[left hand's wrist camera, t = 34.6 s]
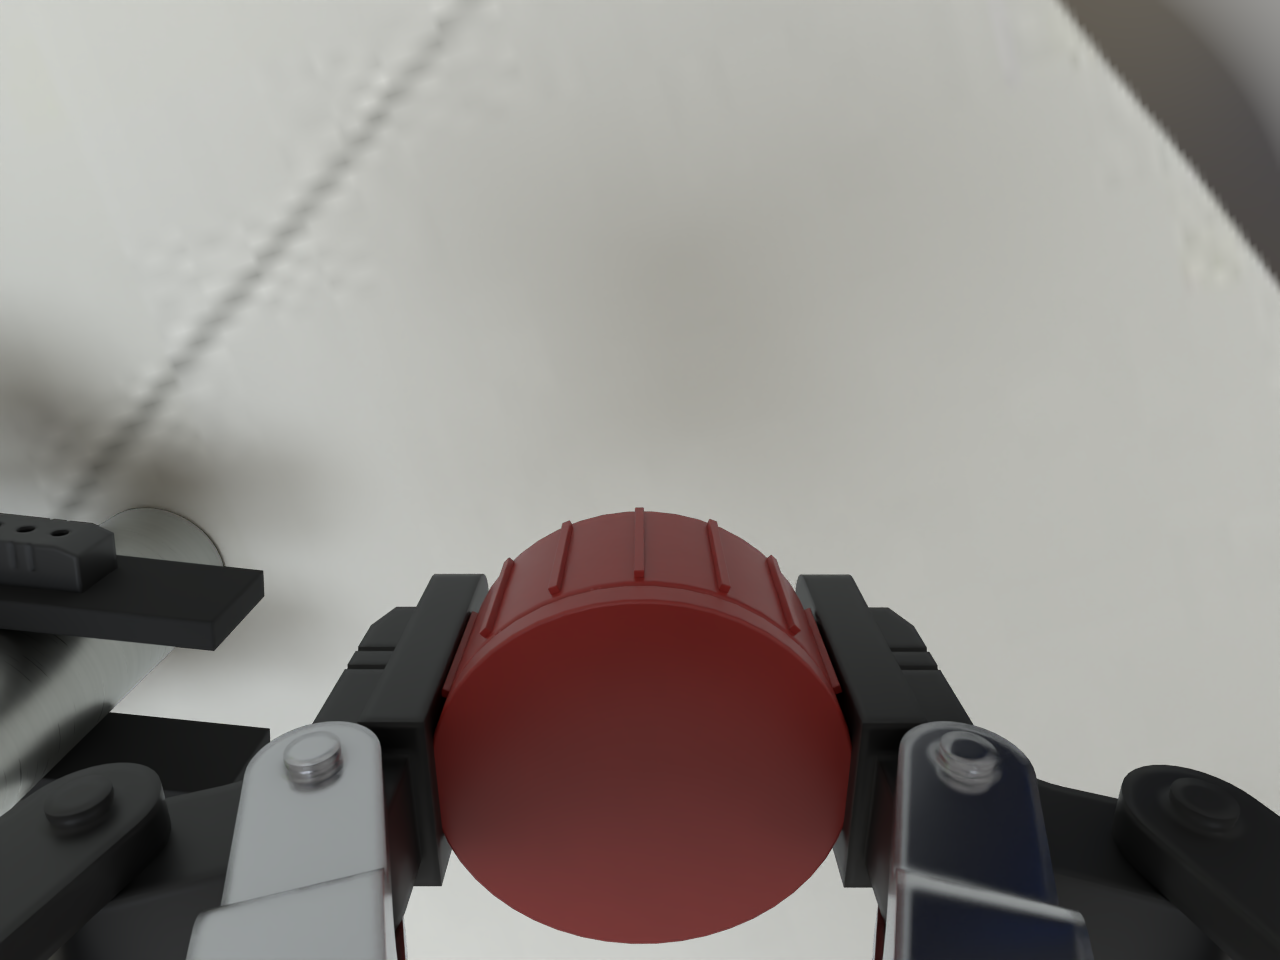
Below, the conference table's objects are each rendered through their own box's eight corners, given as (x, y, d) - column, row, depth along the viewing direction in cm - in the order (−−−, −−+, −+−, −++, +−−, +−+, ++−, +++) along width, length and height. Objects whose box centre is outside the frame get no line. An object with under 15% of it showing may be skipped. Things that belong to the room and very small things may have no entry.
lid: (687, 852, 12) (698, 1002, 10) (406, 708, 11) (349, 838, 9) (886, 621, 11) (951, 736, 9) (584, 436, 10) (568, 511, 8)
